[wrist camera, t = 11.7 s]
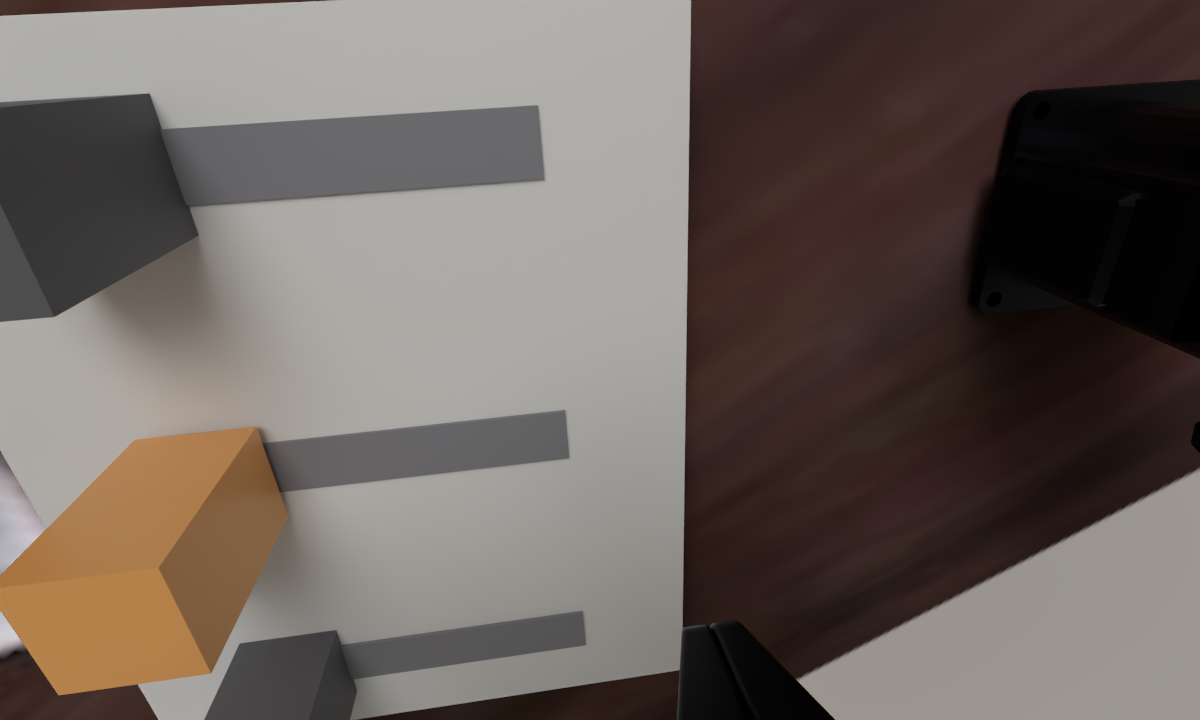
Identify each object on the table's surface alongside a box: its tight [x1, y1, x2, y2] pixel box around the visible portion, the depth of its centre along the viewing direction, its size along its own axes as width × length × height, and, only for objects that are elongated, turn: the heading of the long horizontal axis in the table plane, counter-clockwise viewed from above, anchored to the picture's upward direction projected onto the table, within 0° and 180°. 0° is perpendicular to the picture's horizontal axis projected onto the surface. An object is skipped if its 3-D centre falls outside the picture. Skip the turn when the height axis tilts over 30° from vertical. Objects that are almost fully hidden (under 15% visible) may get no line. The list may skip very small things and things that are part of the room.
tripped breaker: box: [0, 427, 288, 695], centre depth 14 cm, size 3×3×5 cm
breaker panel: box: [0, 0, 691, 720], centre depth 16 cm, size 18×22×7 cm
